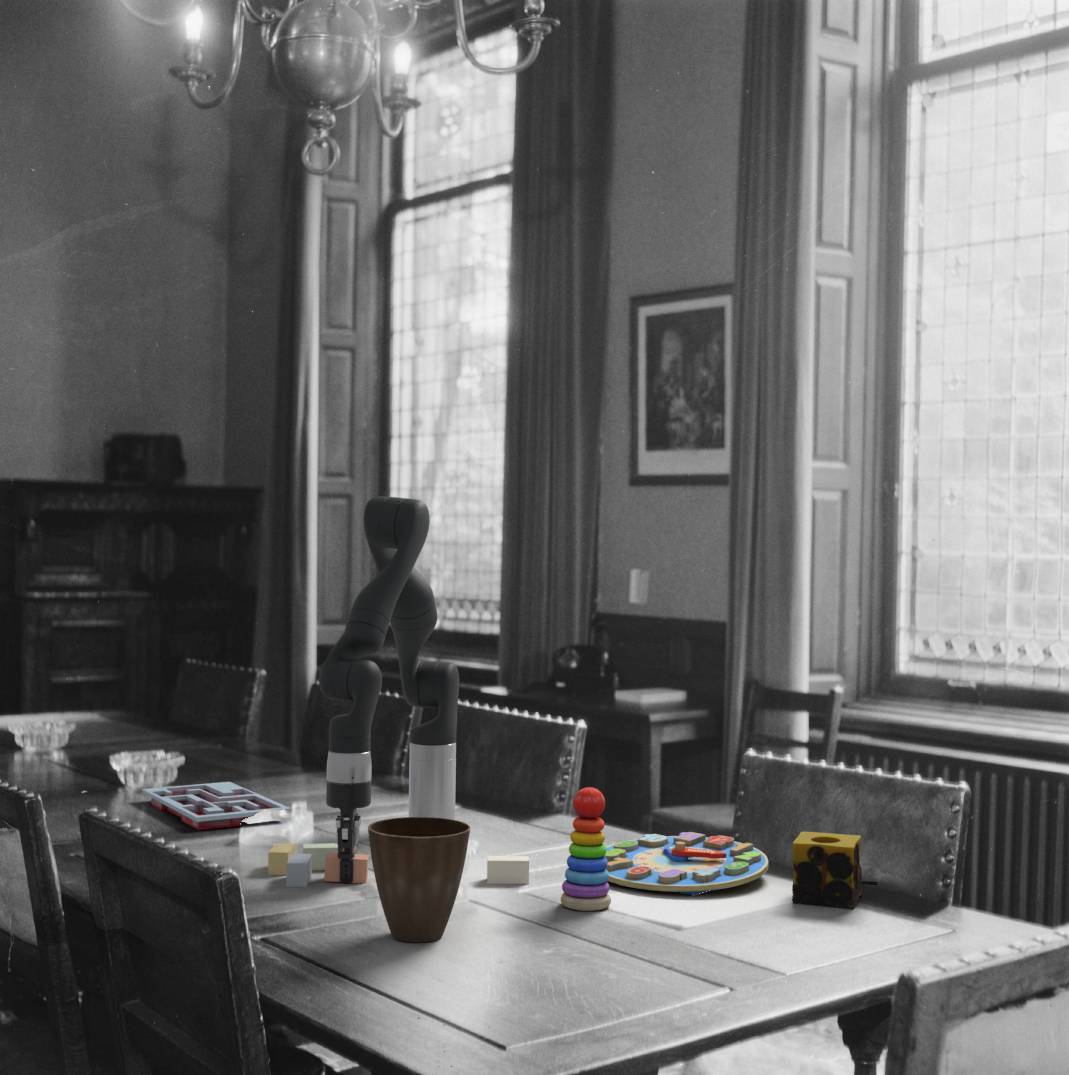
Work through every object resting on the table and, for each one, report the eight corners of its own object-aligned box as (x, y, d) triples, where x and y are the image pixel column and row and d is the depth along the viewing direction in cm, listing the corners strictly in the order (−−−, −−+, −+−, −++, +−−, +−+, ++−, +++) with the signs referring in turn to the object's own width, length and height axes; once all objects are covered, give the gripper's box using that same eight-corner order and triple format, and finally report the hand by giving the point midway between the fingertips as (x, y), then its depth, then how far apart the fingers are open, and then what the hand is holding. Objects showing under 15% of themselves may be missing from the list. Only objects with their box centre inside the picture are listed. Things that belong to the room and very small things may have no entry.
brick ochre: (267, 875, 242) (268, 852, 242) (275, 866, 249) (275, 843, 249) (287, 876, 242) (288, 852, 242) (294, 866, 249) (294, 843, 249)
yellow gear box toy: (862, 895, 235) (863, 835, 235) (855, 910, 225) (856, 847, 225) (800, 889, 238) (801, 830, 238) (791, 904, 228) (792, 842, 228)
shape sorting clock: (554, 876, 246) (555, 841, 246) (662, 849, 268) (663, 817, 268) (698, 909, 225) (698, 871, 225) (802, 878, 247) (802, 843, 247)
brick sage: (302, 866, 249) (303, 843, 249) (343, 865, 250) (343, 843, 250) (302, 871, 245) (303, 848, 245) (343, 870, 247) (344, 847, 247)
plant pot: (374, 920, 214) (375, 815, 214) (472, 923, 214) (474, 817, 214) (358, 949, 199) (360, 835, 199) (464, 952, 199) (466, 838, 199)
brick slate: (286, 887, 234) (286, 863, 234) (291, 877, 241) (291, 853, 241) (306, 887, 234) (307, 863, 234) (311, 877, 241) (311, 853, 241)
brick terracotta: (326, 876, 240) (327, 852, 240) (367, 878, 241) (369, 855, 241) (324, 881, 237) (325, 857, 237) (365, 883, 237) (367, 859, 237)
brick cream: (486, 879, 242) (487, 856, 242) (528, 879, 242) (528, 856, 242) (487, 884, 238) (487, 860, 238) (528, 884, 239) (529, 861, 239)
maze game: (291, 824, 286) (291, 808, 286) (196, 834, 275) (196, 817, 275) (229, 796, 315) (229, 781, 315) (141, 803, 305) (142, 789, 305)
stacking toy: (606, 914, 220) (608, 793, 220) (556, 910, 222) (558, 791, 222) (614, 901, 228) (616, 785, 228) (565, 898, 229) (567, 782, 229)
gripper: (368, 785, 232) (366, 890, 232) (374, 770, 246) (372, 870, 246) (322, 784, 232) (320, 890, 232) (330, 770, 246) (329, 869, 246)
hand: (347, 879), depth 239 cm, fingers closed on brick terracotta, 3 cm apart
